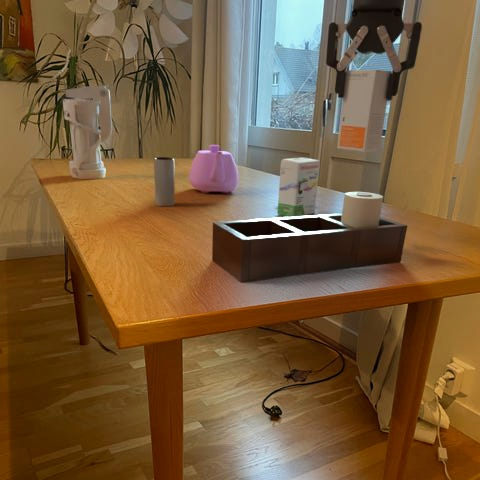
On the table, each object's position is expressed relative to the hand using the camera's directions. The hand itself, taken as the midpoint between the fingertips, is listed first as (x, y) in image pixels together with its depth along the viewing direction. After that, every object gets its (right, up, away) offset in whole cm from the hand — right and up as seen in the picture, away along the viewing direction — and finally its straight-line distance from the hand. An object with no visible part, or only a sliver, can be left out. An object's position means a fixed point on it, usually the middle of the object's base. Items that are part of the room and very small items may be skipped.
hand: (365, 98), depth 76 cm
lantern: (-65, +8, +68) cm, 94 cm away
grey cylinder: (-38, -9, +35) cm, 52 cm away
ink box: (-7, -12, +31) cm, 34 cm away
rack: (-9, -26, -1) cm, 28 cm away
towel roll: (-1, -25, +3) cm, 25 cm away
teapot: (-27, -1, +54) cm, 60 cm away
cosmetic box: (0, -7, +3) cm, 8 cm away
